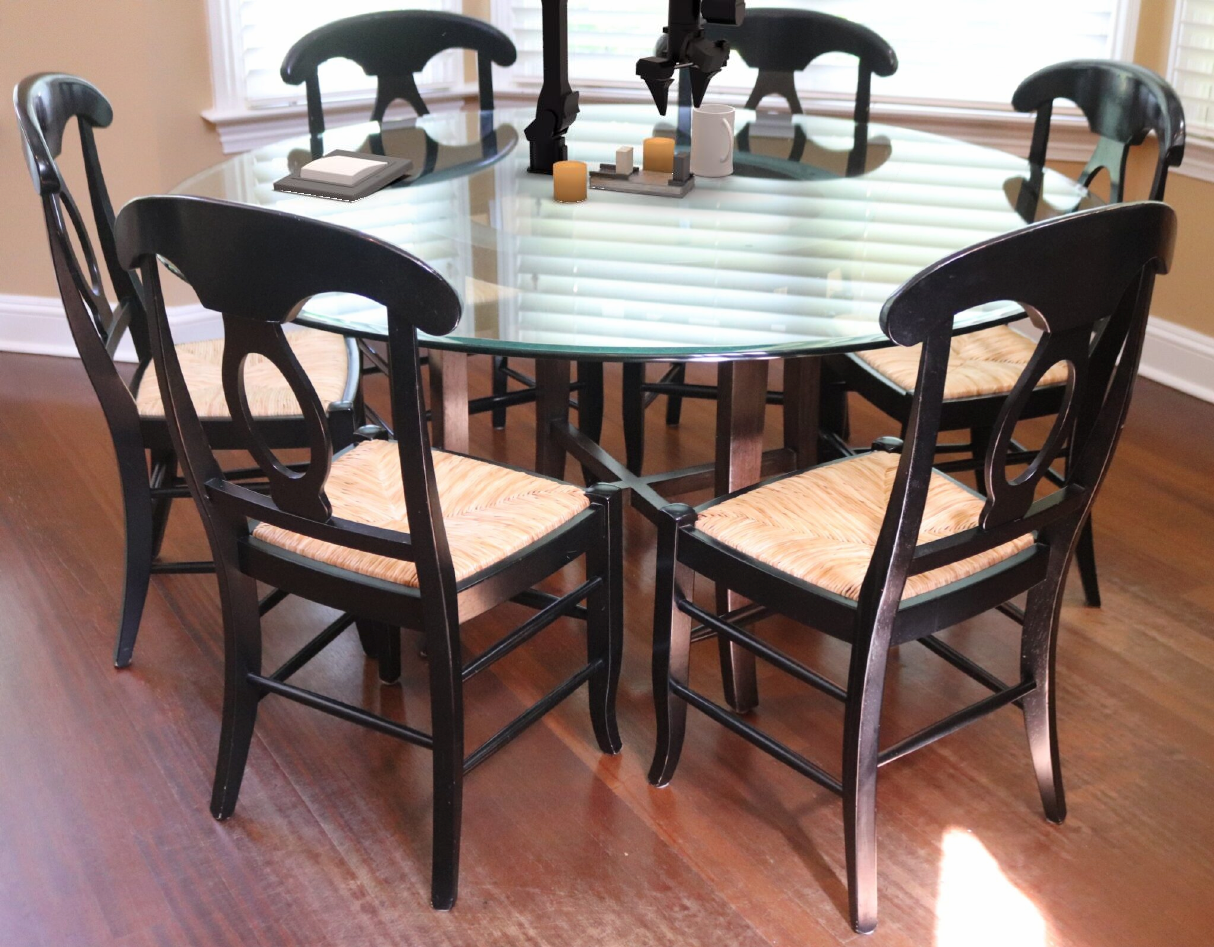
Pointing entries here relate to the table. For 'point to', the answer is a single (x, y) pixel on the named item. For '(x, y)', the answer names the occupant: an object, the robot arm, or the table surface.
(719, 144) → the mug
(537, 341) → the table surface
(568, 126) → the robot arm
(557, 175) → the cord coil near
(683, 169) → the toggle black
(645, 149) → the orange short rounded piece
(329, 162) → the light switch
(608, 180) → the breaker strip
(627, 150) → the beige cardboard box
